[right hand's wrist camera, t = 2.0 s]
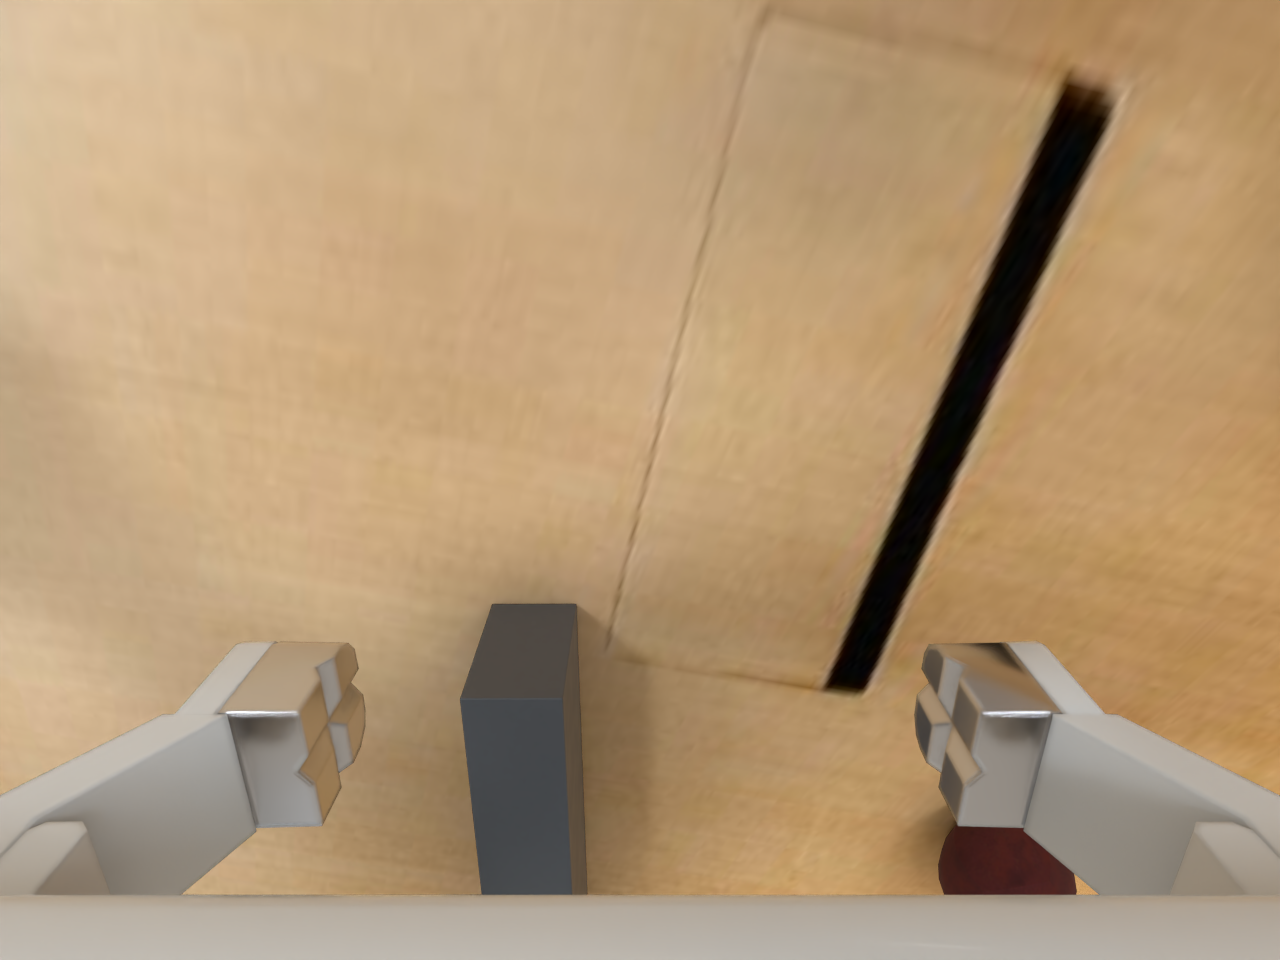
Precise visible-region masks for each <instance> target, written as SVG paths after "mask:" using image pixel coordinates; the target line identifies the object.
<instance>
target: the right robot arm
mask: <svg viewBox="0 0 1280 960" xmlns="http://www.w3.org/2000/svg"><path fill="white" fill-rule="evenodd" d="M358 669H359V668H358V663H357V658H356V654H355V649H354V648H353V647H352V646H351V645H350V644H349V643H328V642H276V641H245V642H242V643H239V644H236V645H235V646H234V647H233V648H232V649H231V650H230V652H229V653H228V654H227V655H226V656H225V657H224V658H223V660H222V661H221V662H220V663H219V664H218V665H217V666H216V667H215V669H214V670H213V671H212V672H211V673H210V674H209V675H208V677H207V678H206V679H205V680H204V681H203V682H202V683H201V685H200V686H199V687H198V688H197V689H196V690H195V691H194V693H193V694H192V695H191V696H190V697H189V698H188V699H187V700H186V702H185V703H184V704H183V705H182V706H181V707H180V708H179V710H178V711H177V712H176V713H175V714H162V715H160V716H158V717H156V718H154V719H152V720H150V721H148V722H146V723H144V724H142V725H140V726H138V727H136V728H134V729H132V730H130V731H128V732H126V733H124V734H122V735H120V736H118V737H116V738H114V739H112V740H110V741H108V742H106V743H104V744H102V745H100V746H98V747H96V748H94V749H92V750H90V751H88V752H86V753H84V754H82V755H80V756H78V757H76V758H74V759H72V760H70V761H68V762H66V763H64V764H62V765H60V766H58V767H56V768H54V769H52V770H50V771H48V772H46V773H44V774H42V775H40V776H38V777H36V778H34V779H32V780H30V781H28V782H26V783H24V784H22V785H20V786H18V787H16V788H14V789H12V790H10V791H8V792H6V793H4V794H2V795H0V960H1280V795H1278V794H1276V793H1274V792H1272V791H1270V790H1268V789H1266V788H1264V787H1262V786H1260V785H1258V784H1256V783H1254V782H1252V781H1250V780H1248V779H1246V778H1244V777H1242V776H1240V775H1238V774H1236V773H1234V772H1232V771H1230V770H1228V769H1226V768H1224V767H1222V766H1220V765H1218V764H1216V763H1214V762H1212V761H1210V760H1208V759H1206V758H1204V757H1202V756H1200V755H1198V754H1196V753H1194V752H1192V751H1190V750H1188V749H1186V748H1184V747H1182V746H1180V745H1178V744H1176V743H1174V742H1172V741H1170V740H1168V739H1166V738H1164V737H1162V736H1160V735H1158V734H1156V733H1154V732H1152V731H1150V730H1148V729H1146V728H1144V727H1142V726H1140V725H1138V724H1136V723H1134V722H1132V721H1130V720H1128V719H1126V718H1124V717H1122V716H1120V715H1118V714H1105V713H1104V712H1103V711H1102V710H1101V708H1100V707H1099V706H1098V705H1097V704H1096V703H1095V702H1094V701H1093V699H1092V698H1091V697H1090V696H1089V695H1088V694H1087V693H1086V691H1085V690H1084V689H1083V688H1082V687H1081V686H1080V685H1079V683H1078V682H1077V681H1076V680H1075V679H1074V678H1073V677H1072V675H1071V674H1070V673H1069V672H1068V671H1067V670H1066V669H1065V667H1064V666H1063V665H1062V664H1061V663H1060V662H1059V661H1058V660H1057V658H1056V657H1055V656H1054V655H1053V654H1052V653H1051V652H1050V650H1049V649H1048V648H1047V647H1046V646H1045V645H1044V644H1042V643H1039V642H1037V641H1017V642H1000V643H954V644H929V645H928V647H927V649H926V651H925V653H924V657H923V663H922V668H921V669H922V671H923V672H924V674H925V676H926V678H927V679H928V681H929V683H928V684H927V685H926V686H925V687H924V688H923V689H922V690H921V691H920V692H919V693H918V694H917V698H916V706H915V714H914V716H915V728H916V736H917V740H918V743H919V747H920V750H921V752H922V754H923V756H924V758H925V760H926V763H928V764H929V765H931V766H932V767H933V768H935V769H936V770H938V771H939V772H941V777H940V782H939V789H940V791H941V793H942V795H943V797H944V799H945V801H946V803H947V805H948V807H949V809H950V811H951V813H952V815H953V817H954V819H955V821H956V823H957V825H958V826H972V827H1008V828H1024V830H1023V831H1024V832H1025V833H1026V834H1028V835H1029V836H1030V837H1031V838H1032V839H1034V840H1035V841H1036V842H1037V843H1038V844H1040V845H1041V846H1042V847H1043V848H1044V849H1046V850H1047V851H1048V852H1049V853H1050V854H1051V855H1053V856H1054V857H1055V858H1056V859H1057V860H1059V861H1060V862H1061V863H1062V864H1063V865H1065V866H1066V867H1067V868H1068V869H1069V870H1071V871H1072V872H1073V873H1074V874H1075V875H1077V876H1078V877H1079V878H1080V879H1081V880H1082V881H1084V882H1085V883H1086V884H1087V885H1088V886H1090V887H1091V888H1092V889H1093V890H1094V891H1096V892H1097V893H1098V894H1099V895H181V894H182V893H183V892H185V891H186V890H187V889H188V888H189V887H191V886H192V885H193V884H194V883H195V882H197V881H198V880H199V879H200V878H201V877H203V876H204V875H205V874H206V873H207V872H209V871H210V870H211V869H212V868H213V867H214V866H216V865H217V864H218V863H219V862H220V861H222V860H223V859H224V858H225V857H226V856H228V855H229V854H230V853H231V852H232V851H234V850H235V849H236V848H237V847H238V846H240V845H241V844H242V843H243V842H244V841H246V840H247V839H248V838H249V837H250V836H252V835H253V834H254V833H255V832H256V828H271V827H306V826H322V825H323V823H324V821H325V819H326V817H327V815H328V813H329V811H330V809H331V807H332V805H333V803H334V801H335V799H336V797H337V795H338V793H339V791H340V789H341V782H340V777H339V772H341V771H342V770H344V769H345V768H347V767H348V766H349V765H351V764H352V763H354V760H355V758H356V756H357V754H358V752H359V750H360V747H361V744H362V739H363V734H364V729H365V704H364V698H363V694H362V693H361V692H360V691H359V690H358V689H357V688H356V687H355V686H354V685H353V684H352V683H351V681H352V679H353V678H354V676H355V674H356V672H357V671H358Z"/></svg>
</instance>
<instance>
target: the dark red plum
mask: <svg viewBox="0 0 1280 960" xmlns="http://www.w3.org/2000/svg"><path fill="white" fill-rule="evenodd" d="M1023 830H1024V828H1008V827H972V826H958V825H957V824H956V826H955V827H954V828H953V830H952V831H951V832H950V833H949V835H948V836H947V837H946V840H945V842H944V845H943V848H942V851H941V855H940V860H939V864H938V870H939V880H940V883H941V886H942V889H943V892H944V895H1076V892H1077V890H1076V884H1075V877H1074V873H1073V872H1072V871H1071V870H1069V869H1068V868H1067V867H1066V866H1065V865H1063V864H1062V863H1061V862H1060V861H1059V860H1057V859H1056V858H1055V857H1054V856H1053V855H1051V854H1050V853H1049V852H1048V851H1047V850H1046V849H1044V848H1043V847H1042V846H1041V845H1040V844H1038V843H1037V842H1036V841H1035V840H1034V839H1032V838H1031V837H1030V836H1029V835H1028V834H1026V833H1025V832H1024V831H1023Z"/></svg>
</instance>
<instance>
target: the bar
mask: <svg viewBox="0 0 1280 960" xmlns="http://www.w3.org/2000/svg"><path fill="white" fill-rule="evenodd" d="M460 703H461V712H462V721H463V730H464V739H465V748H466V757H467V766H468V775H469V784H470V793H471V802H472V811H473V820H474V829H475V838H476V847H477V856H478V865H479V874H480V883H481V892H482V895H587V871H586V845H585V819H584V792H583V766H582V740H581V713H580V687H579V661H578V634H577V608H576V604H492V607H491V610H490V613H489V615H488V618H487V621H486V624H485V627H484V630H483V633H482V636H481V639H480V642H479V645H478V648H477V651H476V654H475V657H474V660H473V662H472V665H471V668H470V671H469V674H468V677H467V680H466V683H465V686H464V689H463V692H462V695H461V698H460Z"/></svg>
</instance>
